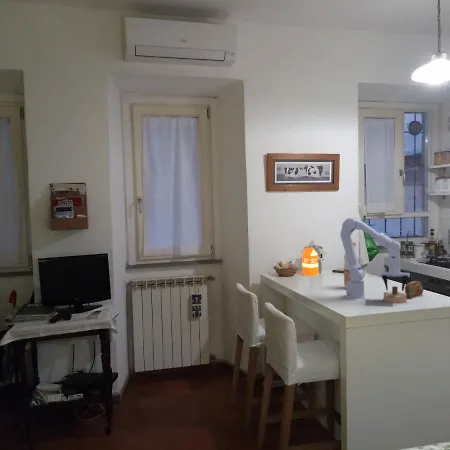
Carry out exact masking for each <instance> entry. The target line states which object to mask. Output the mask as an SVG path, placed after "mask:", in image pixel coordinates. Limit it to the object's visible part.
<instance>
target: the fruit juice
mask: <svg viewBox="0 0 450 450" xmlns="http://www.w3.org/2000/svg"><path fill="white" fill-rule="evenodd" d="M352 243H353V246H354V249H355V253H356V256H357V259H358V263H359V264H360V258H361V257H360V255H359V253H358V251H357V249H356V242H353V241H352ZM343 259H344V263H343V283H344V285H343V286H344V289H346V290H347V281H350V280H351V279H350V278H349V274H350V272H349V263H348V259H347V256H346V253H345V254H344V255H343Z"/></svg>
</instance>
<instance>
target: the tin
mask: <svg viewBox="0 0 450 450" xmlns="http://www.w3.org/2000/svg"><path fill="white" fill-rule="evenodd" d="M404 293H406V296H407V298H408V299H413V298H417V297H421V296H423V293H424V284H423V282H422V281H419V280H415V281H410V282H406V283H405V286H404Z"/></svg>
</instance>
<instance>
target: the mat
mask: <svg viewBox="0 0 450 450" xmlns="http://www.w3.org/2000/svg"><path fill="white" fill-rule="evenodd" d="M365 306H368V307H369V306H371V307H372V306H373V307H390V308H391V307H392V308H393V307H394V302H388V301H385V300H384V299H368V298H367V299H366V298H365Z"/></svg>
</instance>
